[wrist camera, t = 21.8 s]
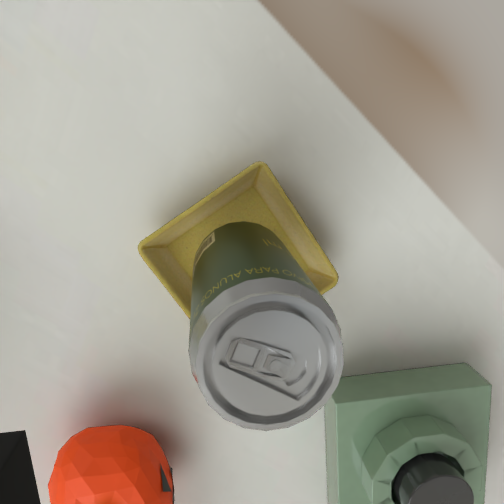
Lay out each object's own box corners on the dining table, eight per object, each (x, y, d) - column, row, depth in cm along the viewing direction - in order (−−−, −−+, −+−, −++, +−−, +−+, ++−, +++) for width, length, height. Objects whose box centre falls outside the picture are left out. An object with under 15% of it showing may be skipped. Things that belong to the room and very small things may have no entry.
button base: (466, 362, 33) (512, 402, 28) (460, 485, 35) (501, 541, 31) (323, 378, 32) (345, 422, 27) (327, 504, 34) (348, 564, 30)
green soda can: (180, 293, 27) (165, 412, 16) (212, 205, 26) (221, 263, 15) (267, 321, 28) (313, 453, 17) (301, 237, 27) (376, 316, 16)
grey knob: (457, 448, 29) (476, 471, 27) (454, 503, 30) (472, 529, 28) (393, 456, 29) (407, 480, 27) (392, 512, 30) (406, 539, 28)
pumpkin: (131, 385, 31) (114, 449, 24) (195, 474, 33) (194, 555, 27) (35, 439, 31) (-7, 516, 25) (105, 524, 33) (83, 616, 27)
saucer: (137, 238, 28) (132, 246, 26) (258, 155, 28) (262, 157, 26) (220, 346, 31) (221, 362, 29) (333, 271, 30) (343, 281, 28)
